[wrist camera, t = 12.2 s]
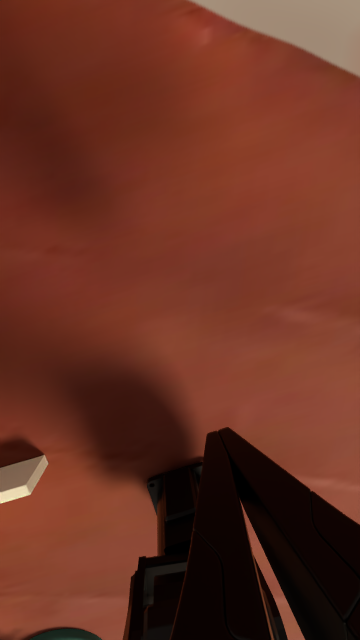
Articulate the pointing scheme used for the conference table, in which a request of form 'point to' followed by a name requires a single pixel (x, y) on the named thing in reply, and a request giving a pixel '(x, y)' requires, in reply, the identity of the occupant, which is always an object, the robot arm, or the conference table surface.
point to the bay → (21, 478)
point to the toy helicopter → (66, 635)
